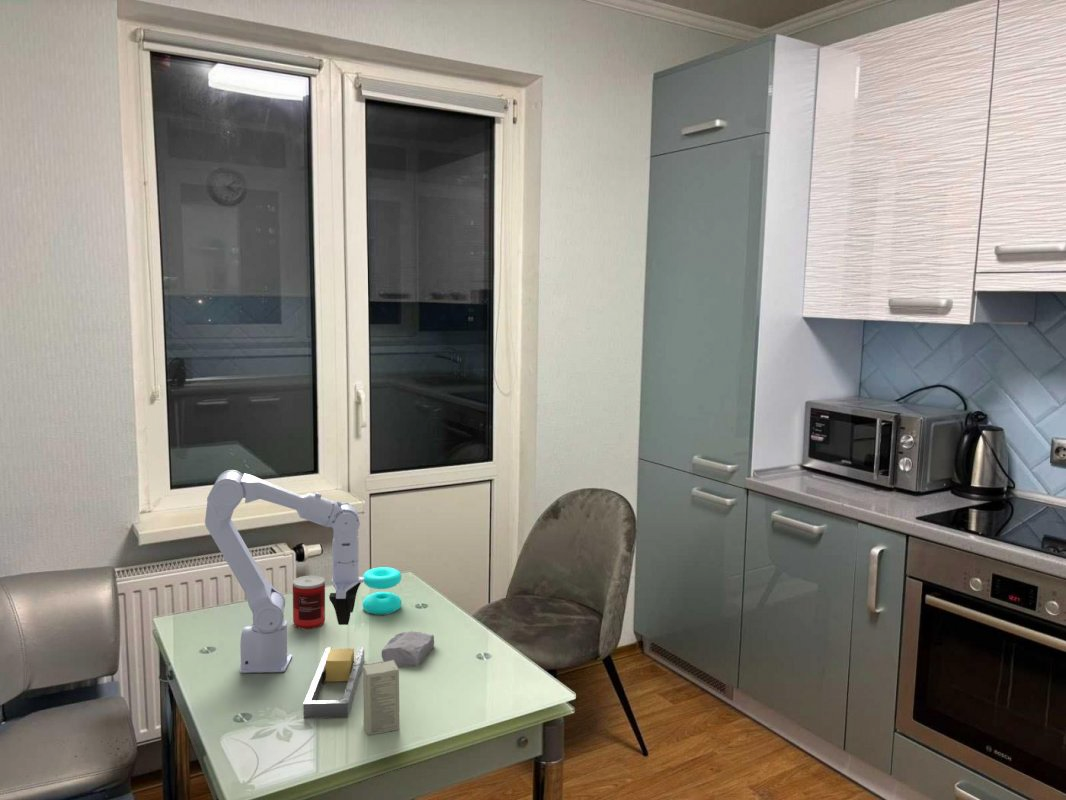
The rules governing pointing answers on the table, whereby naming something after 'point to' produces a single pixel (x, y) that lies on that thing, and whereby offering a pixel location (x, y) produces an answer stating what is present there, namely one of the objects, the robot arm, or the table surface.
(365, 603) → the donuts
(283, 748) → the table surface
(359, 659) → the chute
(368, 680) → the skincare box
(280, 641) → the robot arm
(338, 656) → the block
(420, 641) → the stone block
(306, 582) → the canned food
